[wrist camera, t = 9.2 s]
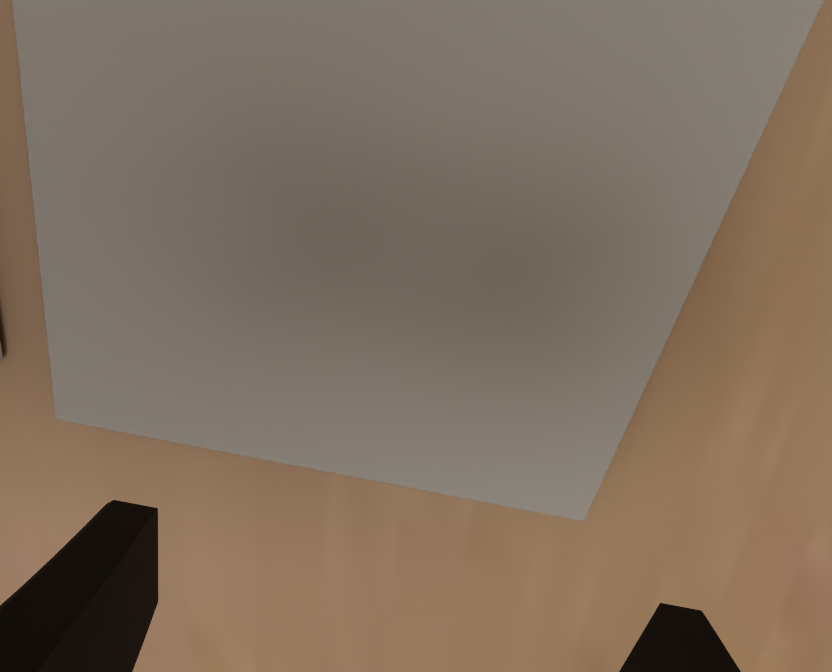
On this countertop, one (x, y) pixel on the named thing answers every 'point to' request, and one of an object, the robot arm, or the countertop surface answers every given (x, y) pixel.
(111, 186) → the mat
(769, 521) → the countertop surface
